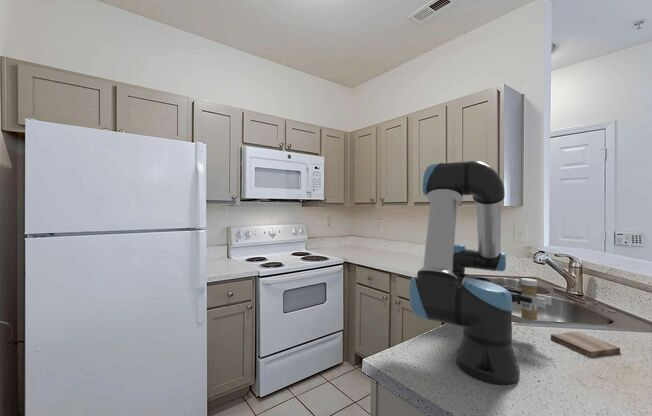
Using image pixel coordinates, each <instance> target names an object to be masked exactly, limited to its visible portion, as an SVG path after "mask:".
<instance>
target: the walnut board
mask: <svg viewBox="0 0 652 416" xmlns="http://www.w3.org/2000/svg"><path fill="white" fill-rule="evenodd" d="M550 340H552V341H554V342H557V343H559V344H561V345H563V346H566V347H568V348H570V349H572V350H575V351H577V352H579V353H581V354H584V355H585V356H588V357H590V358H591V357H600V356H605V355H606V356H607V355H613V354H621V347H619V346H617V345H613V344H611V343H608V342H606V341H604V340H600V339H598V338H595V337H593V336H590V335H588V334H585V333H583V332H580V331H573V332H563V333H552V334H550Z"/></svg>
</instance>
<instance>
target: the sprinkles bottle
mask: <svg viewBox="0 0 652 416" xmlns="http://www.w3.org/2000/svg"><path fill="white" fill-rule="evenodd" d="M520 284H521V289H522V293H521V294H525V295H529V296H534V297H537V294H538V293H537V292H538V291H537V288H538V280H537V279H534V278H528V277H527V278H523V277H522V278H521V280H520ZM520 305H521V306H520V307H521V316H520V317H521V318H522V319H524V320H526V321H527V320H528V321H532V322H533V321H537V320H538V317H537V316H538V314H537V313H538V312H537V311H538V310H537V309H538V306H535V305H531V304H526V303H522V302H521V304H520Z"/></svg>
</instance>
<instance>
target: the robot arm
mask: <svg viewBox="0 0 652 416" xmlns="http://www.w3.org/2000/svg"><path fill="white" fill-rule="evenodd" d="M422 192H423V195H424V196H426V199H427V200H428V202H429V203H430V204H429V211H428V212H429V213H428V222H427V228H426V229H427V231H426V239H425V248H424V255H423V257H424V259H423V266H422V267H421V268H420V269H419V270H417V273H416V274H417V275H416V276H415V277H411V278H410V282H409V286H408V287H409V288H408V289H409V290H408V293H409V303H410V308H411V310H412V311H411V312H412V313H413V314H414V315H415V316H417V317H418V318H422V319H427V320H428V321H436V322H441V323H445V324H449V325H451V324H452V325H456V326H461V327H463V336H462V338H461V342H460V344H459V347H458V349H457V351H456V355H455V356H456V362H455V363H456V365H457V366H458V368H459V369H460V370H461V371H463V373H465V374H467V375H468V376H471V377H473V378H474V379H477V380H480V381H483V382H486V383H491V384H495V385H511V384H515V383H516V382H519V380H520V378H521V377H520V376H521V375H520V374H521V373H520V365H519V363H518V361H517V357H516V354H515V351H514V348H513V323H512V322H513V321H512V320H513V318H512V317H513V310H514V307H513V303H516V305H521V302H522V303H526V304H531V305H535V306H537V307H540V308H543V309H544V308H546V305H548V306H552V296H549V295H545V294H540V293H537V297H534V296H529V295H525V294H521V293H522V288H516V287H512V286H507V285H505V284H501V285H500V284H496V283H494V282H491V280H490V279H489V278H487V277H486V278H485V277H481V276H477V275H473V274H472V275H471V274H466V272H465V271H466V269H475V270H483V271H484V270H485V271H492V272H504V271H506V269H507V264H506V263H507V254H506V253H505V252H502V251H501V238H502V237H501V234H502V233H501V231H502V230H501V227H502V225H501V223H502V214H501V213H502V202H503V201H504V199H505V196H506V195H505V194H506V193H505V186H504V182H503V180H502V179H501V177H500V175H499V174H498V173H497V172H496V170H495V169H494V168H492V167H491V166H490V165H488V164H486V163H485V162H482V161H478V160H469V161H458V162H457V161H455V162H445V163H443V162H439V163H433V164H430V165H428V166H427V167H426V169H425V170H424V174H423V178H422ZM464 196H472V200H473V201H474V202H475V203H476V205H475V206H476V207H475V208H476V225H477V226H476V227H477V228H476V229H477V248H478V249H477V250H475V249H466V246H465V244H457V243H455V241H456V240H455V239H456V225H457V212H458V205H459V204H460V203H462V201H463V197H464Z"/></svg>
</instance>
